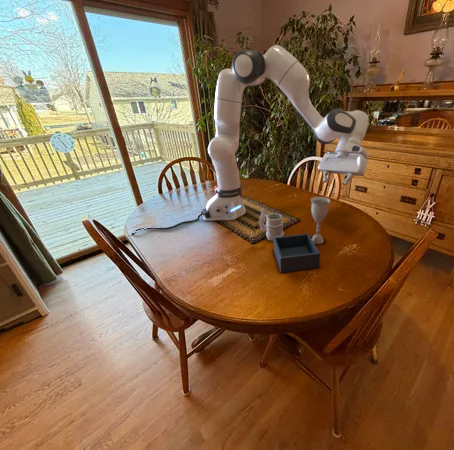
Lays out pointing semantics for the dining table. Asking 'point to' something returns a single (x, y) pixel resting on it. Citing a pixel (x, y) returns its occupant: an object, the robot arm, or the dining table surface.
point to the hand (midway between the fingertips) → (334, 183)
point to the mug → (272, 224)
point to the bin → (296, 252)
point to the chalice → (319, 215)
